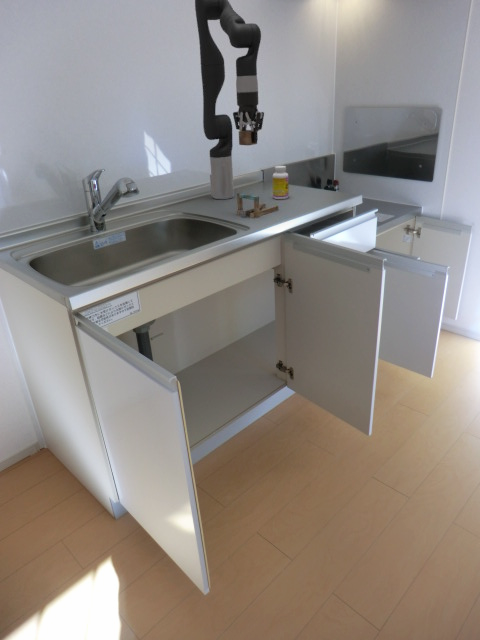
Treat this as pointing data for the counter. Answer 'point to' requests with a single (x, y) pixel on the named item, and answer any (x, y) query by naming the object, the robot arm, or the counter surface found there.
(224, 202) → the counter surface
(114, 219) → the counter surface
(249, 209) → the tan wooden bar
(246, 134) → the walnut cube
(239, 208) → the rail channel with trap bar
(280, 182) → the supplement bottle
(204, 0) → the robot arm
